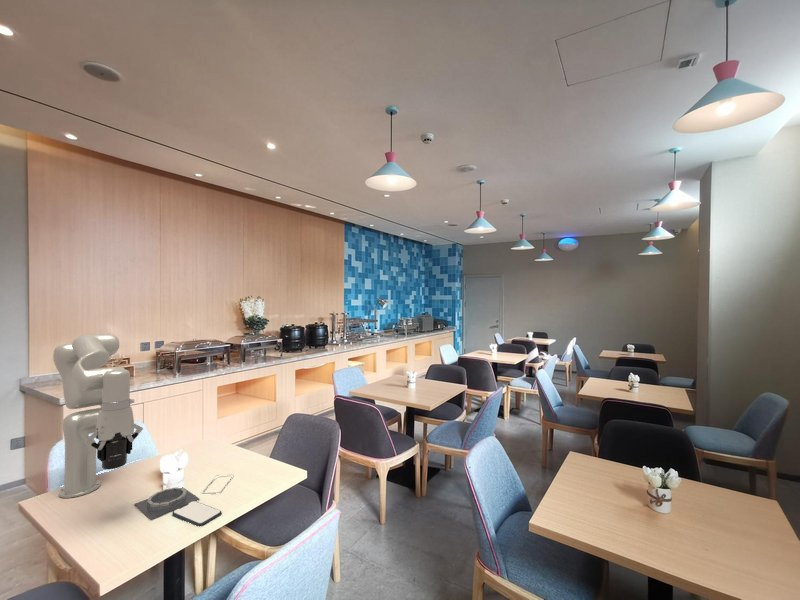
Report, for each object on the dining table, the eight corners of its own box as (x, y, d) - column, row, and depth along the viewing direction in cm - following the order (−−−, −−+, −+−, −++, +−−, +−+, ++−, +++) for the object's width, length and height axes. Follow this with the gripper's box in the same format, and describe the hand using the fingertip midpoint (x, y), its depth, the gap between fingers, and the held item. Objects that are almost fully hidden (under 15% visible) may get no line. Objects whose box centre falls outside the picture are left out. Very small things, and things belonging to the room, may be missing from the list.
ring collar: (134, 505, 131) (134, 498, 131) (181, 487, 144) (181, 481, 144) (150, 520, 121) (150, 512, 122) (199, 500, 134) (199, 493, 134)
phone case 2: (220, 495, 139) (234, 477, 154) (220, 491, 139) (234, 474, 154) (200, 496, 138) (216, 478, 153) (200, 492, 138) (216, 474, 153)
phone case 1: (223, 515, 125) (194, 504, 132) (223, 510, 125) (194, 499, 132) (199, 529, 117) (170, 516, 124) (200, 524, 117) (170, 512, 124)
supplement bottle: (112, 471, 119) (113, 435, 119) (96, 469, 121) (97, 433, 121) (132, 462, 126) (132, 428, 126) (116, 460, 127) (117, 427, 128)
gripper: (141, 398, 133) (140, 446, 132) (80, 409, 119) (79, 462, 119) (148, 401, 128) (148, 451, 128) (86, 413, 115) (85, 468, 114)
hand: (115, 456), depth 123 cm, fingers closed on supplement bottle, 6 cm apart
